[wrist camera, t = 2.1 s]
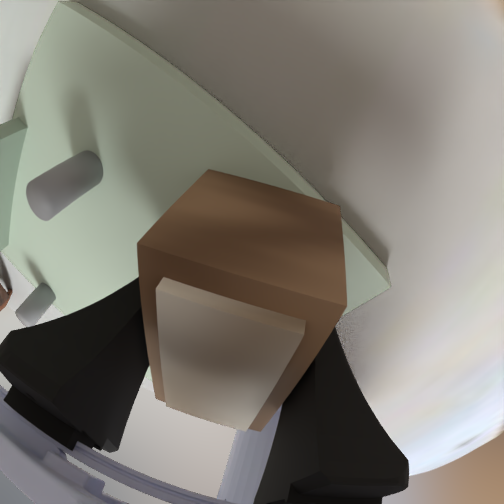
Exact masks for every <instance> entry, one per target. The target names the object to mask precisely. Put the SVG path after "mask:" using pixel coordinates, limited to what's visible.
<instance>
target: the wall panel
mask: <svg viewBox="0 0 504 504" xmlns="http://www.w3.org/2000/svg"><path fill="white" fill-rule="evenodd" d="M208 169H211V170H215V171H219V172H223V173H227V174H231V175H235V176H239V177H243V178H247V179H250V180H254V181H258V182H261V183H265V184H269V185H272V186H276V187H279V188H283V189H286V190H290V191H293V192H297V193H300V194H303V195H307V196H310V197H313V198H316V199H320V200H323V201H326V200H325V199H324V198H323V197H322V196H321V195H320V194H319V193H318V192H317V191H316V190H315V189H314V188H313V187H312V186H311V185H310V184H309V183H308V182H307V181H306V180H305V179H304V178H303V177H302V176H301V175H300V174H299V173H298V172H297V171H296V170H295V169H294V168H293V167H292V166H291V165H289V164H288V163H287V162H286V161H285V160H284V159H283V158H282V157H281V156H280V155H279V154H278V153H277V152H276V151H275V150H274V149H273V148H271V147H270V146H269V145H268V144H267V143H266V142H265V141H264V140H263V139H262V138H261V137H259V136H258V135H257V134H256V133H255V132H254V131H253V130H252V129H250V128H249V127H248V126H247V125H246V124H245V123H244V122H242V121H241V120H240V119H239V118H238V117H237V116H236V115H234V114H233V113H232V112H231V111H230V110H229V109H227V108H226V107H225V106H224V105H223V104H221V103H220V102H219V101H218V100H217V99H215V98H214V97H213V96H212V95H210V94H209V93H208V92H207V91H206V90H204V89H203V88H202V87H201V86H199V85H198V84H197V83H195V82H194V81H193V80H192V79H190V78H189V77H188V76H186V75H185V74H184V73H183V72H181V71H180V70H179V69H177V68H176V67H175V66H173V65H172V64H171V63H169V62H168V61H167V60H165V59H164V58H162V57H161V56H160V55H158V54H157V53H156V52H154V51H153V50H151V49H150V48H148V47H147V46H146V45H144V44H143V43H141V42H140V41H138V40H137V39H135V38H134V37H132V36H131V35H129V34H128V33H126V32H125V31H123V30H122V29H120V28H119V27H117V26H116V25H114V24H113V23H111V22H109V21H108V20H106V19H105V18H103V17H101V16H100V15H98V14H96V13H95V12H93V11H91V10H90V9H88V8H86V7H85V6H83V5H81V4H79V3H78V2H64V1H58V3H57V5H56V6H55V8H54V10H53V12H52V14H51V16H50V18H49V20H48V22H47V24H46V26H45V28H44V30H43V33H42V35H41V37H40V39H39V42H38V44H37V46H36V49H35V51H34V53H33V56H32V58H31V61H30V64H29V66H28V69H27V72H26V75H25V78H24V81H23V84H22V87H21V90H20V93H19V96H18V100H17V103H16V107H15V111H14V114H13V118H12V120H10V121H8V122H6V123H3V124H1V125H0V252H2V253H3V254H4V255H5V256H6V258H7V259H8V260H9V261H10V262H11V263H12V264H13V265H14V266H15V268H16V269H17V270H18V271H19V272H20V273H21V274H22V275H23V276H24V277H25V278H26V279H27V280H28V281H29V282H30V283H31V284H32V285H33V286H34V287H35V288H36V289H35V290H34V291H33V292H32V293H31V294H30V295H29V297H28V298H27V299H26V300H25V301H24V302H23V303H22V305H21V306H20V307H19V308H18V309H17V310H16V312H15V313H16V316H17V317H18V319H19V320H20V321H21V322H22V324H23V325H25V326H26V327H30V326H34V325H35V324H36V323H37V321H38V320H39V319H40V318H41V316H42V315H43V314H44V313H45V312H46V310H47V309H48V308H49V307H50V306H51V304H53V305H54V306H55V307H56V308H57V309H58V310H59V311H60V312H61V313H63V314H64V315H65V316H66V315H68V314H70V313H73V312H75V311H78V310H80V309H82V308H85V307H87V306H89V305H91V304H93V303H95V302H97V301H99V300H101V299H103V298H105V297H106V296H108V295H110V294H112V293H114V292H115V291H117V290H118V289H120V288H122V287H123V286H125V285H127V284H128V283H130V282H131V281H133V280H134V279H136V278H137V277H139V273H138V259H137V242H138V241H139V240H140V239H141V238H142V237H143V236H144V234H145V233H146V232H147V231H148V230H149V229H150V228H151V227H152V226H153V225H154V224H155V223H156V222H157V220H158V219H159V218H160V217H161V216H162V215H163V214H164V213H165V212H166V211H167V210H168V209H169V208H170V207H171V206H172V205H173V204H174V203H175V202H176V201H177V200H178V199H179V198H180V197H181V196H182V195H183V194H184V193H185V192H186V191H187V190H188V189H189V188H190V187H191V186H192V185H193V184H194V183H195V182H196V181H197V180H198V179H199V178H200V177H201V176H202V175H203V174H204V173H205V172H206V171H207V170H208ZM326 202H327V201H326ZM341 220H342V231H343V242H344V255H345V269H346V287H347V308H346V309H345V311H344V313H343V314H342V316H343V315H345V314H347V313H348V312H350V311H352V310H354V309H355V308H357V307H359V306H361V305H362V304H364V303H366V302H368V301H369V300H371V299H373V298H374V297H376V296H378V295H379V294H381V293H383V292H384V291H386V290H387V289H389V288H391V284H390V279H389V275H388V271H387V268H386V267H385V266H384V264H383V263H382V262H381V261H380V260H379V259H378V257H377V256H376V255H375V254H374V253H373V252H372V251H371V249H370V248H369V247H368V246H367V245H366V244H365V243H364V241H363V240H362V239H361V238H360V237H359V236H358V235H357V234H356V233H355V231H354V230H353V229H352V228H351V227H350V226H349V225H348V224H347V223H346V222H345V221H344V219H343V218H342V217H341ZM145 377H146V378H148V379H149V380H151V381H152V376H151V370H150V365H149V367H148V370H147V372H146V374H145ZM152 382H153V381H152Z"/></svg>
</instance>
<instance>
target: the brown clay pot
mask: <svg viewBox="0 0 504 504" xmlns="http://www.w3.org/2000/svg"><path fill="white" fill-rule="evenodd" d="M11 294H12V290H11V289H9V290H8V292H6V290H5V289H4V288H3V287H2V285H1V284H0V311H1V310H2V309H3V308H4V307H5V306H6V305H7V303H8V301H9V299H10V296H11Z"/></svg>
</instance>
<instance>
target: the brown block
mask: <svg viewBox="0 0 504 504" xmlns="http://www.w3.org/2000/svg"><path fill="white" fill-rule="evenodd" d="M137 259H138V273H139V285H140V296H141V306H142V315H143V323H144V331H145V338H146V345H147V352H148V358H149V364H150V370H151V376H152V381H153V387H154V392H155V397H156V399H158V400H161V401H163V402H166V406H167V407H170V408H172V409H175V410H178V411H181V412H184V413H186V414H189V415H192V416H195V417H198V418H201V419H204V420H207V421H210V422H214V423H217V424H220V425H224V426H227V427H231V428H234V429H238V430H242V431H245V432H246V431H247V429H251V430H255V431H259V432H261V431H262V429H263V428H264V427H265V426H266V424H267V423H268V422H269V421H270V419H271V418H272V417H273V415H274V414H275V413H276V411H277V410H278V409H279V408H280V406H281V405H282V404H283V402H284V401H285V400H286V398H287V397H288V395H289V394H290V393H291V391H292V390H293V389H294V387H295V386H296V384H297V383H298V382H299V380H300V379H301V377H302V376H303V374H304V373H305V372H306V370H307V369H308V367H309V366H310V364H311V363H312V361H313V360H314V358H315V357H316V355H317V354H318V352H319V351H320V349H321V348H322V346H323V345H324V343H325V342H326V340H327V338H328V337H329V335H330V334H331V332H332V330H333V329H334V327H335V326H336V324H337V322H338V321H339V319H340V318H341V316H342V314H343V313H344V311H345V309H346V308H347V287H346V269H345V255H344V242H343V231H342V220H341V211H340V206H339V205H335V204H332V203H329V202H326V201H323V200H320V199H316V198H313V197H310V196H307V195H303V194H300V193H297V192H293V191H290V190H286V189H283V188H279V187H276V186H272V185H269V184H265V183H261V182H258V181H254V180H250V179H247V178H243V177H239V176H235V175H231V174H227V173H223V172H219V171H215V170H211V169H208V170H207V171H206V172H205V173H204V174H203V175H202V176H201V177H200V178H199V179H198V180H197V181H196V182H195V183H194V184H193V185H192V186H191V187H190V188H189V189H188V190H187V191H186V192H185V193H184V194H183V195H182V196H181V197H180V198H179V199H178V200H177V201H176V202H175V203H174V204H173V205H172V206H171V207H170V208H169V209H168V210H167V211H166V212H165V213H164V214H163V215H162V216H161V217H160V218H159V219H158V220H157V222H156V223H155V224H154V225H153V226H152V227H151V228H150V229H149V230H148V231H147V232H146V233H145V234H144V236H143V237H142V238H141V239H140V240H139V241H138V242H137Z"/></svg>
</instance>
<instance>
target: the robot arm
mask: <svg viewBox="0 0 504 504" xmlns="http://www.w3.org/2000/svg"><path fill="white" fill-rule="evenodd" d="M149 365H150V364H149V358H148V352H147V345H146V338H145V331H144V323H143V315H142V306H141V296H140V285H139V277H137V278H136V279H134V280H133V281H131V282H130V283H128V284H127V285H125V286H123V287H122V288H120V289H118V290H117V291H115V292H114V293H112V294H110V295H108V296H106V297H105V298H103V299H101V300H99V301H97V302H95V303H93V304H91V305H89V306H87V307H85V308H82V309H80V310H78V311H75V312H73V313H70V314H68V315H66V316H63V317H60V318H57V319H54V320H51V321H48V322H45V323H42V324H38V325H35V326H30V327H26V328H22V329H18V330H13V331H11V332H10V333H9V334H8V335H7V336H6V338H5V339H4V340H3V342H2V343H1V344H0V372H1V373H2V374H3V375H4V376H5V377H6V379H7V380H8V381H9V382H10V383H11V384H12V387H11V388H10V390H9V392H8V391H6V390H5V389H4V388H3V387H2V386H1V385H0V470H1V471H2V472H3V473H4V475H5V476H6V477H8V479H10V481H12V483H13V484H14V485H16V486H17V487H18V488H19V489H20V490H21V491H22V492H23V493H24V494H25V495H26V496H27V497H28V498H30V499H31V500H32V501H33V502H34V504H128V503H126V502H124V501H121V500H119V499H117V498H115V497H113V496H111V495H108V494H106V493H104V492H102V490H103V488H104V485H105V482H104V481H102V480H100V479H98V478H96V477H95V476H93V475H91V474H89V473H88V472H86V471H84V470H82V469H81V468H78V467H77V466H75V465H74V464H72V463H70V462H69V461H68V460H67V458H66V454H65V453H67V454H69V455H70V456H72V457H74V458H75V459H77V460H79V461H80V462H82V463H84V464H86V465H87V466H89V467H91V468H93V469H95V470H96V471H98V472H100V473H102V474H104V475H106V476H108V477H110V478H112V479H114V480H116V481H118V482H120V483H123V484H125V485H127V486H129V487H131V488H134V489H136V490H138V491H140V492H143V493H145V494H148V495H150V496H153V497H155V498H158V499H161V500H163V501H166V502H169V503H172V504H382V497H384V496H388V495H391V494H395V493H397V492H400V491H403V490H405V489H406V488H407V487H408V481H409V463H408V459H407V458H406V457H405V456H404V454H403V453H402V452H401V451H400V450H399V448H398V447H397V446H396V445H395V443H394V442H393V441H392V440H391V438H390V437H389V436H388V434H387V433H386V431H385V430H384V429H383V427H382V426H381V424H380V423H379V421H378V419H377V418H376V416H375V415H374V413H373V411H372V410H371V408H370V406H369V405H368V403H367V401H366V399H365V397H364V396H363V394H362V392H361V390H360V388H359V386H358V384H357V382H356V380H355V377H354V375H353V373H352V371H351V368H350V366H349V364H348V361H347V359H346V356H345V354H344V351H343V348H342V345H341V343H340V340H339V337H338V334H337V331H336V328H335V327H334V329H333V330H332V332H331V334H330V335H329V337H328V338H327V340H326V342H325V343H324V345H323V346H322V348H321V349H320V351H319V352H318V354H317V355H316V357H315V358H314V360H313V361H312V363H311V364H310V366H309V367H308V369H307V370H306V372H305V373H304V374H303V376H302V377H301V379H300V380H299V382H298V383H297V384H296V386H295V387H294V389H293V390H292V391H291V393H290V394H289V395H288V397H287V398H286V400H285V401H284V402H283V404H282V405H281V406H280V408H279V409H278V410H277V411H276V413H275V414H274V415H273V417H272V418H271V419H270V421H269V422H268V423H267V424H266V426H265V427H264V428H263V429H262V431H261V432H259V431H255V430H251V429H247V431H246V432H245V431H242V430H238V429H237V431H236V434H235V438H234V441H233V445H232V449H231V452H230V455H229V459H228V462H227V465H226V469H225V472H224V475H223V479H222V483H221V485H220V489H219V492H218V495H217V499H216V498H212V497H208V496H204V495H201V494H198V493H195V492H191V491H188V490H185V489H182V488H179V487H176V486H173V485H171V484H168V483H165V482H162V481H160V480H157V479H154V478H152V477H149V476H147V475H145V474H142V473H140V472H138V471H135V470H133V469H130V468H129V467H126V466H124V465H122V464H120V463H118V462H116V461H114V460H112V459H110V458H108V457H106V456H104V455H102V454H100V453H98V452H96V451H94V450H93V449H92V448H93V447H95V448H96V449H98V450H102V449H103V450H105V451H107V452H109V453H110V452H115V451H117V450H118V449H119V446H120V442H121V439H122V436H123V433H124V429H125V426H126V423H127V420H128V418H129V415H130V411H131V409H132V406H133V404H134V401H135V398H136V396H137V393H138V391H139V388H140V386H141V384H142V381H143V379H144V377H145V374H146V372H147V370H148V367H149Z"/></svg>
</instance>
